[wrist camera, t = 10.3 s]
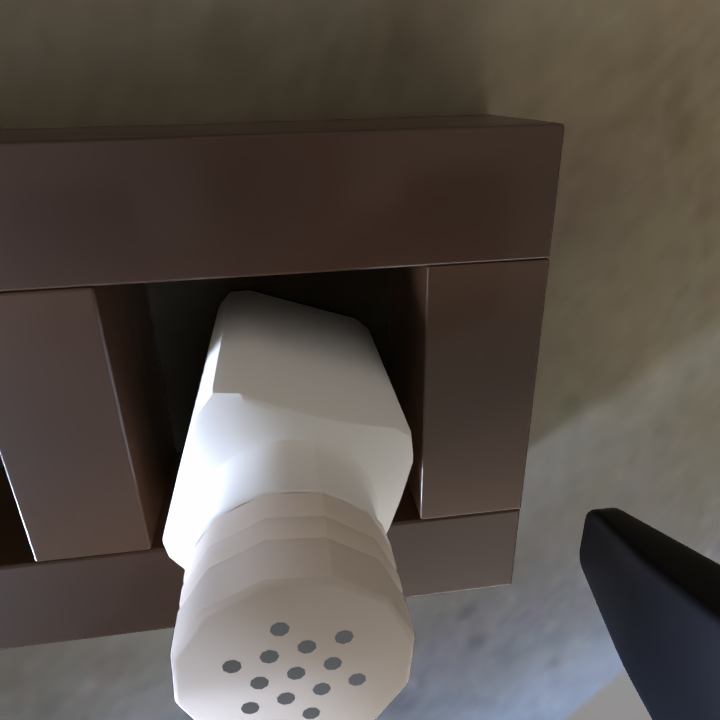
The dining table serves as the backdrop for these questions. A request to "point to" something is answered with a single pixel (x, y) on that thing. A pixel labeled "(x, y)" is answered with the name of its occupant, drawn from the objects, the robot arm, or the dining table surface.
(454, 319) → the stand
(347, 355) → the salt shaker
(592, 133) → the dining table surface
